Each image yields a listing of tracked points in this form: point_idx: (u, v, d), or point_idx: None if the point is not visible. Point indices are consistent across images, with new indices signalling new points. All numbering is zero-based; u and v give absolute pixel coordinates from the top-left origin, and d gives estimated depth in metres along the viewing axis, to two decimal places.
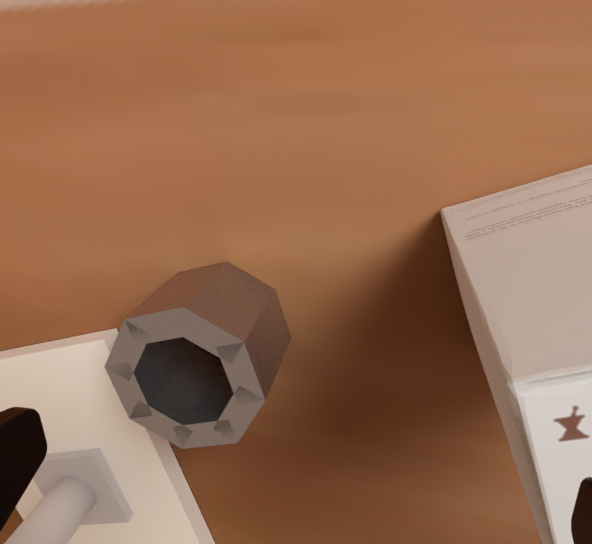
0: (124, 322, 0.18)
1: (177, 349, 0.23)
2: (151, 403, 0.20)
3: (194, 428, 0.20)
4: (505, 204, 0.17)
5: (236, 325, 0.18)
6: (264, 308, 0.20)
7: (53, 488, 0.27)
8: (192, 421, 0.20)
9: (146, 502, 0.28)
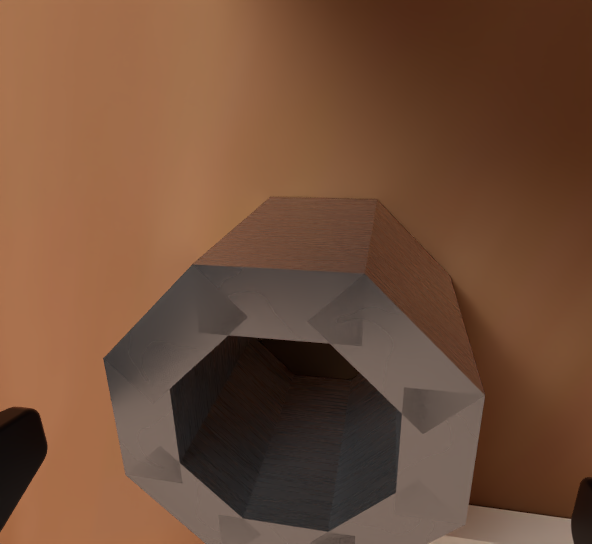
0: (132, 477, 0.09)
1: (317, 410, 0.12)
2: (331, 522, 0.09)
3: (411, 472, 0.08)
4: None
5: None
6: (249, 216, 0.10)
7: None
8: None
9: None
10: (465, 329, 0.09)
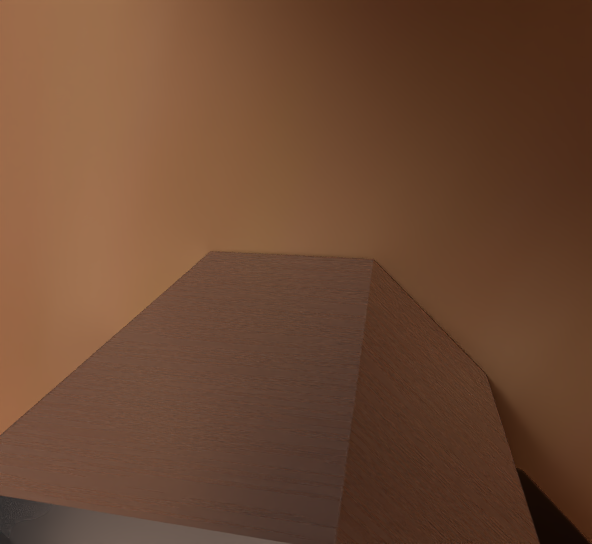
0: None
1: None
2: None
3: None
4: None
5: None
6: (156, 301, 0.06)
7: None
8: None
9: None
10: (534, 527, 0.05)
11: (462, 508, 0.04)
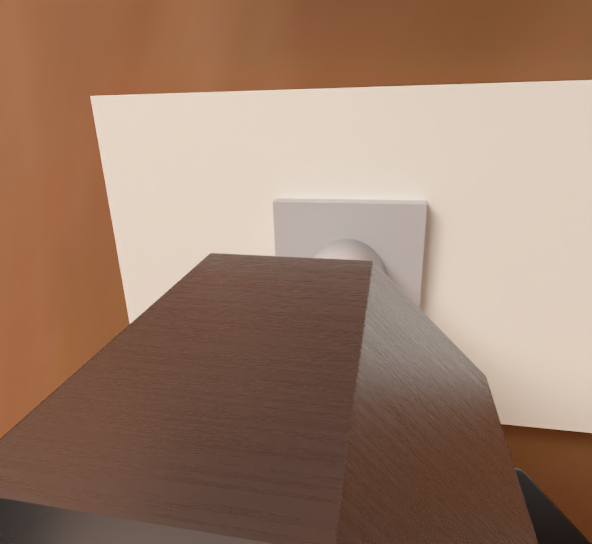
0: None
1: None
2: None
3: None
4: None
5: None
6: (156, 303, 0.06)
7: None
8: None
9: (403, 160, 0.15)
10: (533, 529, 0.05)
11: (461, 510, 0.04)
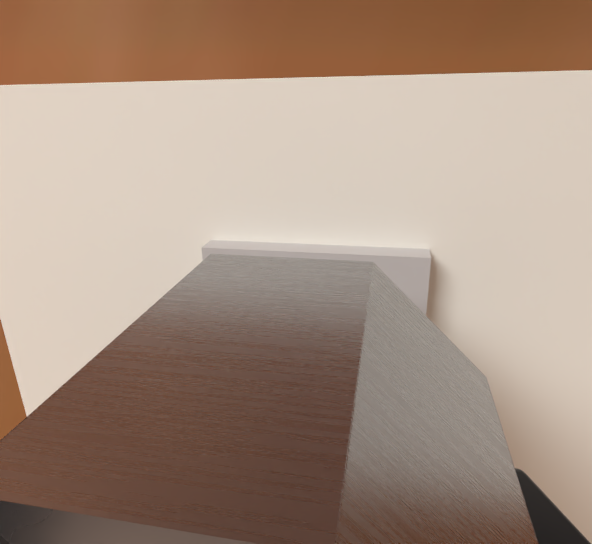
0: None
1: None
2: None
3: None
4: None
5: None
6: (156, 304, 0.06)
7: None
8: None
9: (395, 190, 0.10)
10: (533, 531, 0.05)
11: (461, 512, 0.04)
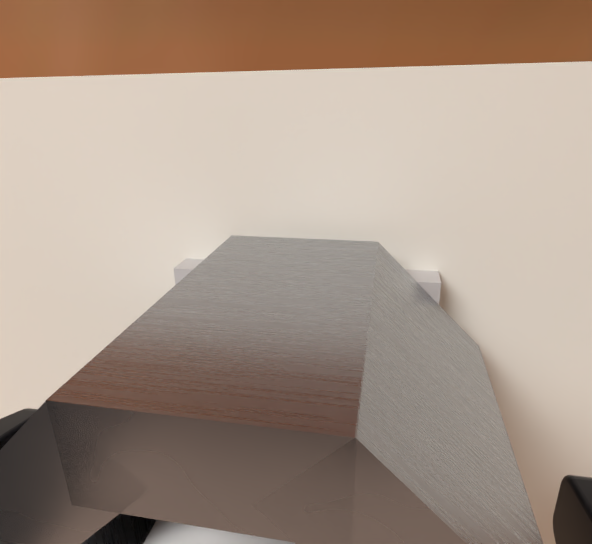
0: None
1: None
2: None
3: None
4: None
5: None
6: (190, 274, 0.07)
7: None
8: None
9: (399, 202, 0.08)
10: (516, 462, 0.06)
11: (454, 435, 0.05)
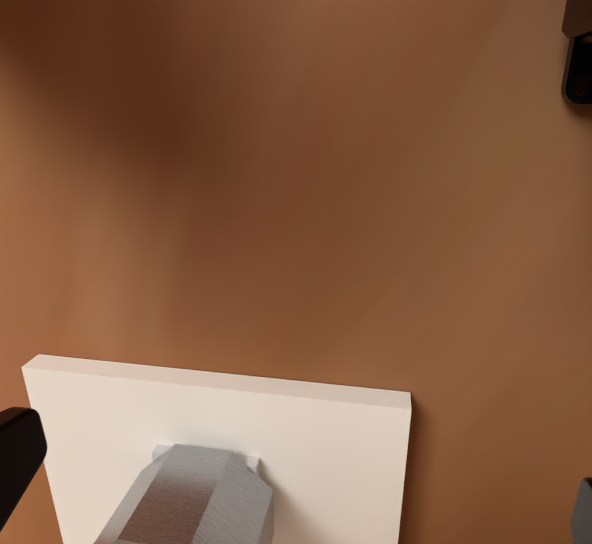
0: None
1: None
2: None
3: None
4: None
5: (118, 528, 0.18)
6: (156, 476, 0.19)
7: None
8: None
9: (241, 432, 0.21)
10: None
11: (227, 542, 0.18)
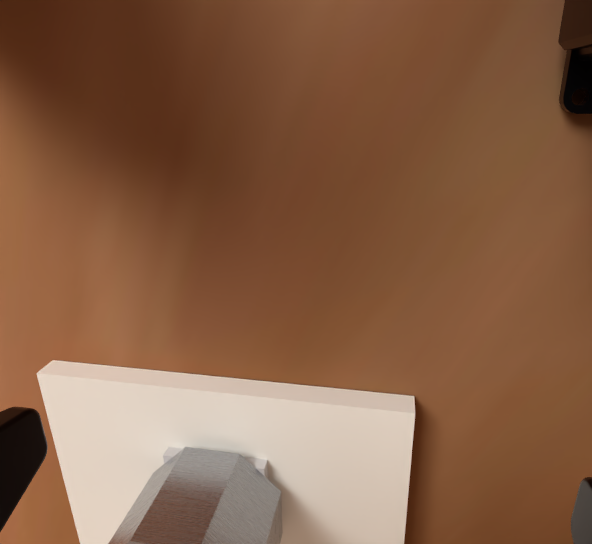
0: None
1: None
2: None
3: None
4: None
5: (131, 530, 0.18)
6: (167, 479, 0.20)
7: None
8: None
9: (249, 435, 0.22)
10: None
11: (236, 543, 0.18)
